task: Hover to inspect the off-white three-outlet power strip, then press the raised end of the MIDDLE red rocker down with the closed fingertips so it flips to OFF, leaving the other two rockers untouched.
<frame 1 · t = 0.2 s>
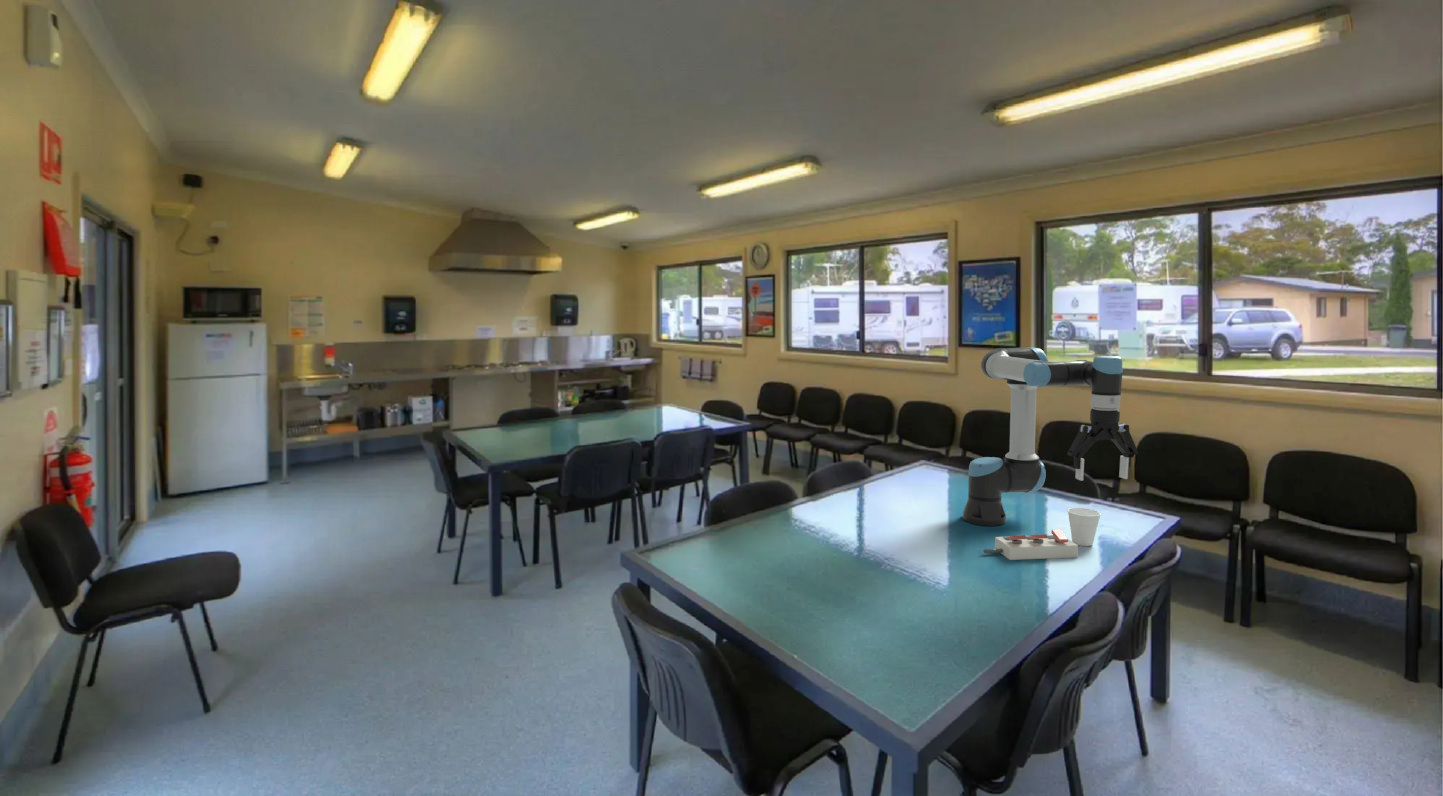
hand: (1101, 478, 193), 28 cm above the table, fingers open, 13 cm apart
rocker b: (1038, 536, 207), point 6 cm above the table, hinge at -20.0°
strip: (1035, 552, 210), on the table
cup: (1082, 543, 217), on the table
rocker c: (1059, 535, 208), point 6 cm above the table, hinge at 20.0°
rocker a: (1017, 537, 207), point 6 cm above the table, hinge at -20.0°
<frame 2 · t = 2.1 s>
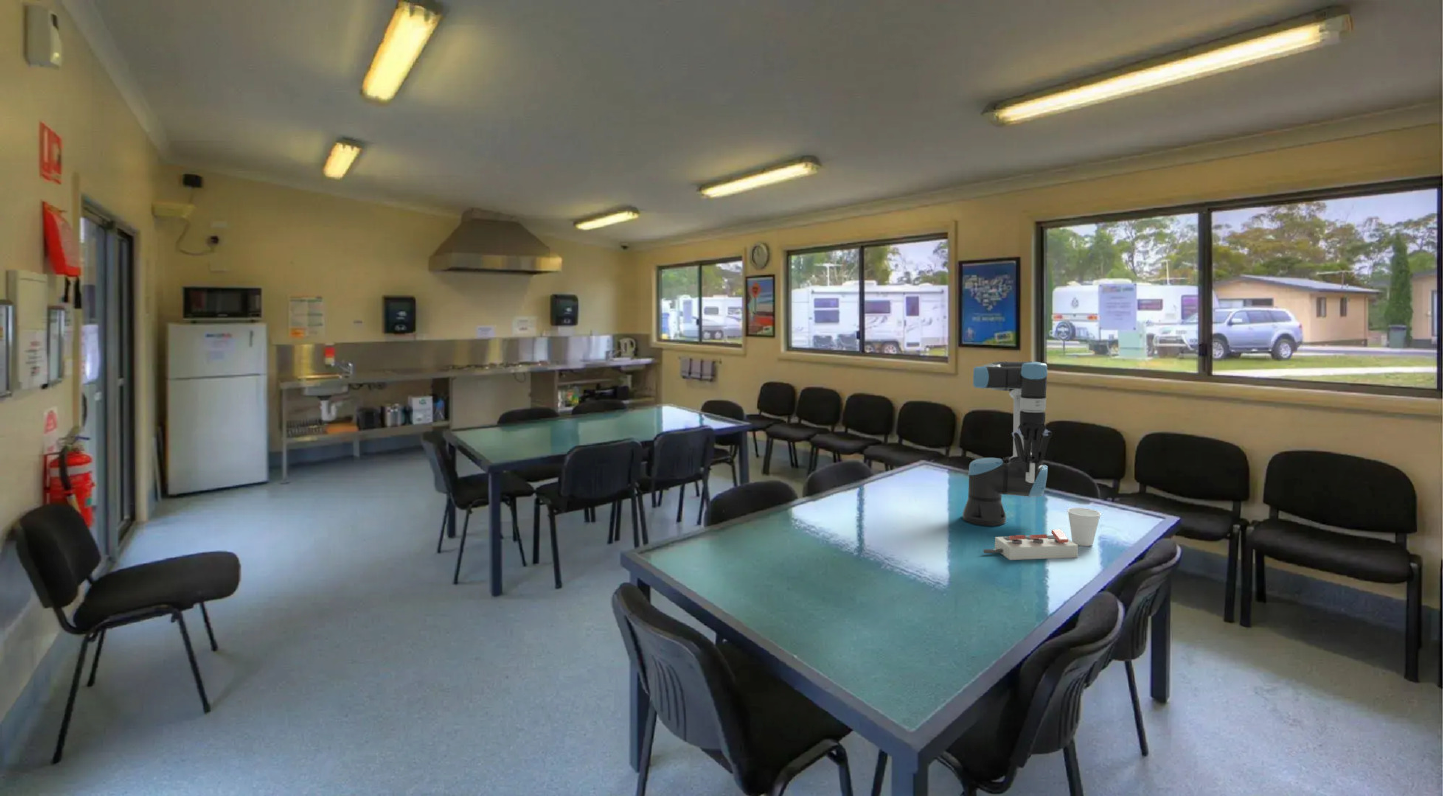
hand: (1029, 481, 212), 22 cm above the table, fingers closed
nothing on the table moved.
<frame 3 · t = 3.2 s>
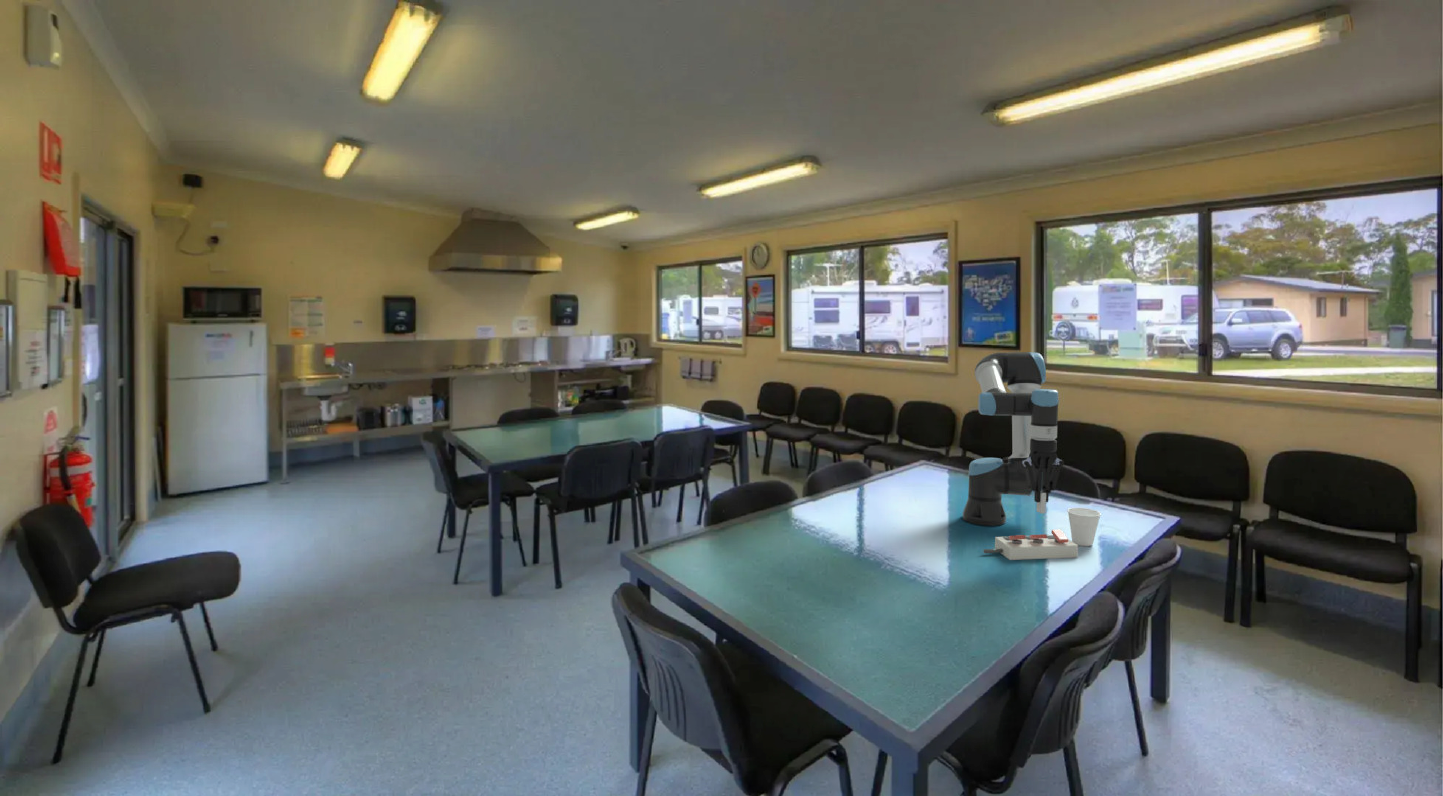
hand: (1040, 512, 205), 15 cm above the table, fingers closed
nothing on the table moved.
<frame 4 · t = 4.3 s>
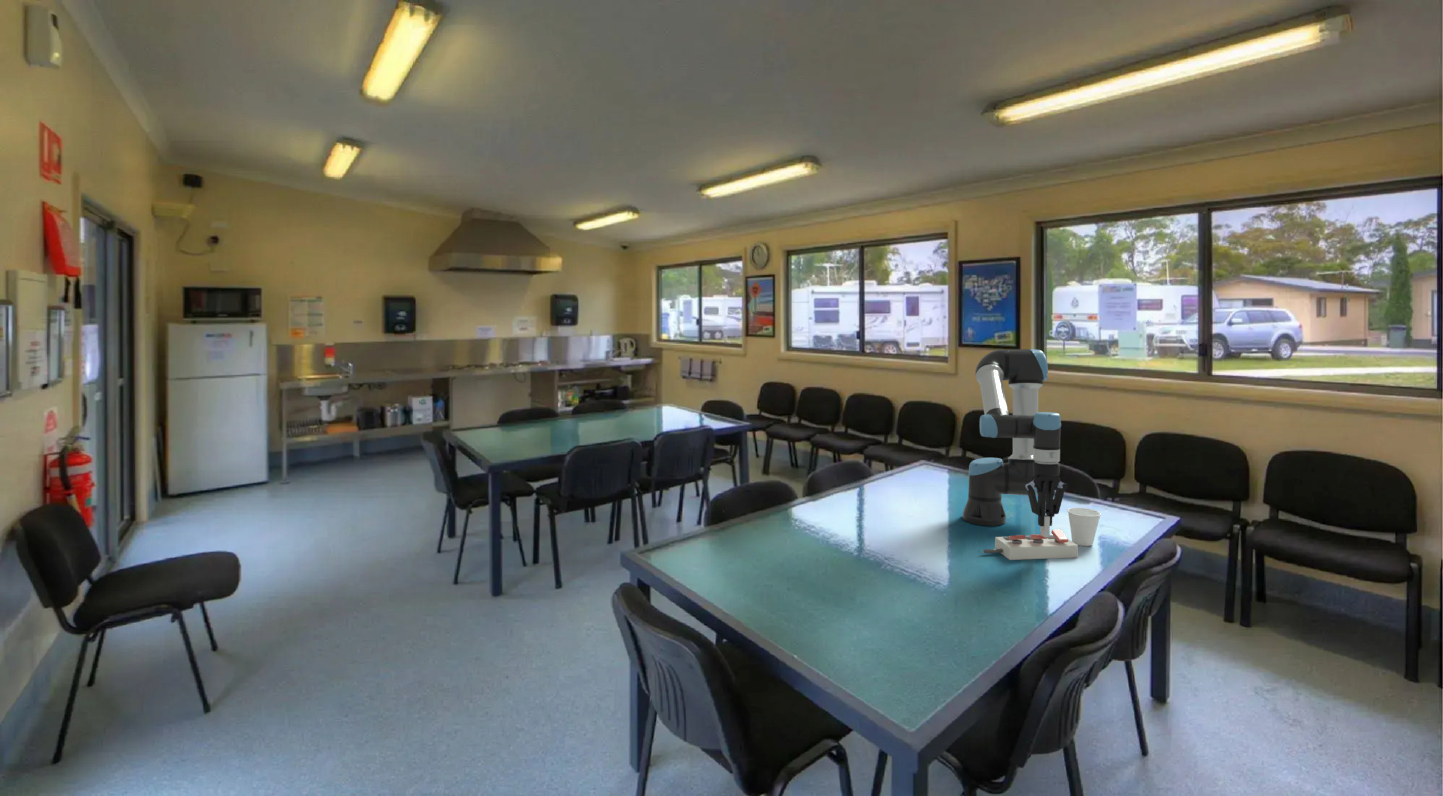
hand: (1044, 535, 203), 8 cm above the table, fingers closed
rocker b: (1038, 536, 207), point 6 cm above the table, hinge at -16.8°, touching gripper
everything else where it was.
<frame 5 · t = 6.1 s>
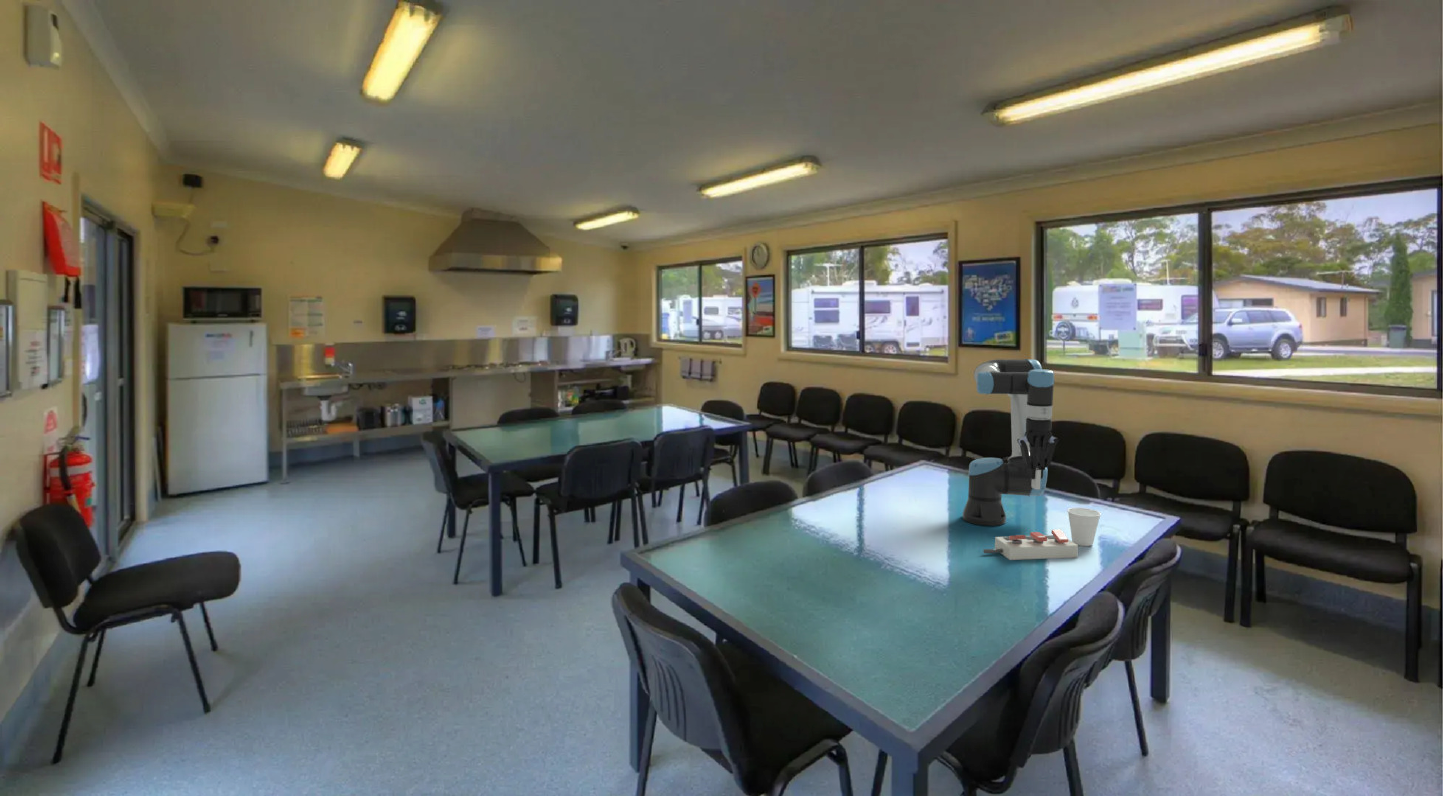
hand: (1035, 488, 212), 20 cm above the table, fingers closed
rocker b: (1038, 536, 207), point 6 cm above the table, hinge at 1.0°
everything else where it was.
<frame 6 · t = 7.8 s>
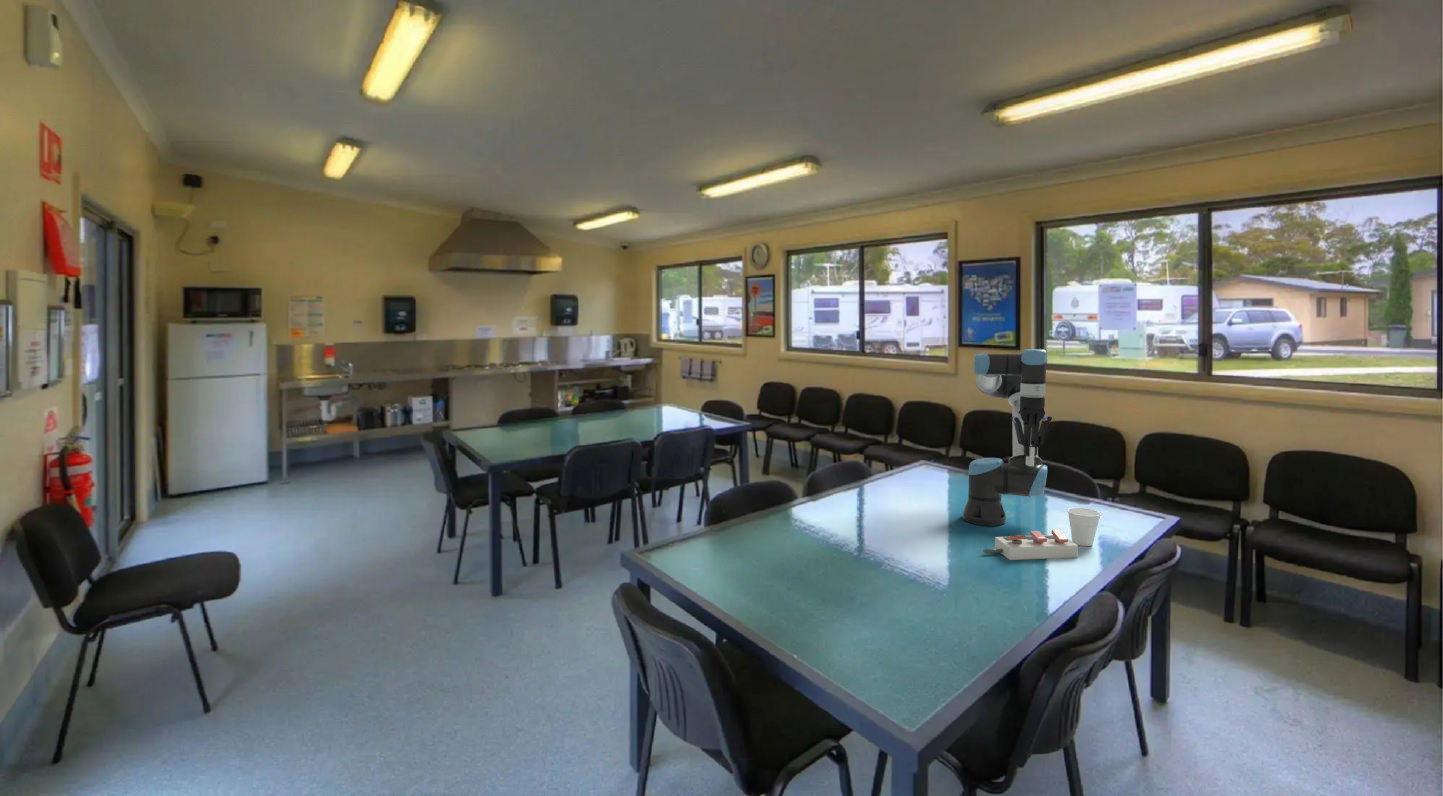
hand: (1029, 465, 217), 26 cm above the table, fingers closed
rocker b: (1038, 536, 207), point 6 cm above the table, hinge at 10.3°
everything else where it was.
at the end: rocker b at +11° (first picture: -20°); rocker a at -20° (first picture: -20°); rocker c at +20° (first picture: +20°) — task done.
